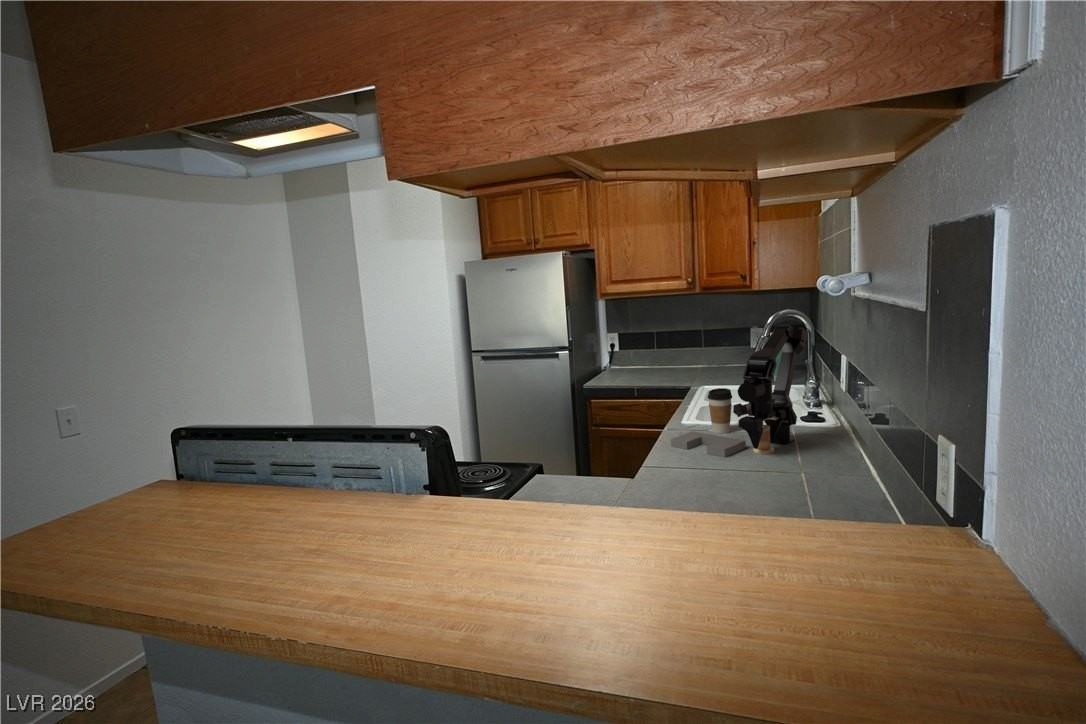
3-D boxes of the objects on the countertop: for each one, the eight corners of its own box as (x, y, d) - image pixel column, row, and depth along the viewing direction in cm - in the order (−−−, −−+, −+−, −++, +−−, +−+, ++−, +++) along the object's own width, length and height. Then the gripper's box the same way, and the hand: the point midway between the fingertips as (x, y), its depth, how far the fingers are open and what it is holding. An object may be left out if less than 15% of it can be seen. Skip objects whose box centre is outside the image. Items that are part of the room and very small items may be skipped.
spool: (759, 447, 177) (758, 423, 176) (777, 450, 172) (777, 425, 171) (749, 452, 173) (748, 427, 172) (767, 455, 168) (767, 429, 167)
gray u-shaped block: (692, 438, 193) (692, 431, 192) (745, 448, 177) (745, 440, 177) (671, 446, 185) (670, 439, 185) (724, 457, 170) (724, 449, 169)
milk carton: (764, 379, 290) (763, 332, 287) (780, 378, 291) (779, 330, 288) (773, 382, 281) (772, 333, 278) (790, 380, 282) (789, 331, 279)
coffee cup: (737, 430, 199) (736, 388, 197) (727, 435, 193) (725, 393, 191) (715, 427, 204) (714, 387, 202) (704, 432, 198) (703, 391, 196)
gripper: (753, 388, 183) (754, 434, 185) (721, 398, 171) (723, 447, 173) (786, 391, 174) (787, 439, 176) (755, 402, 162) (757, 454, 164)
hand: (763, 445), depth 172 cm, fingers open, 9 cm apart
